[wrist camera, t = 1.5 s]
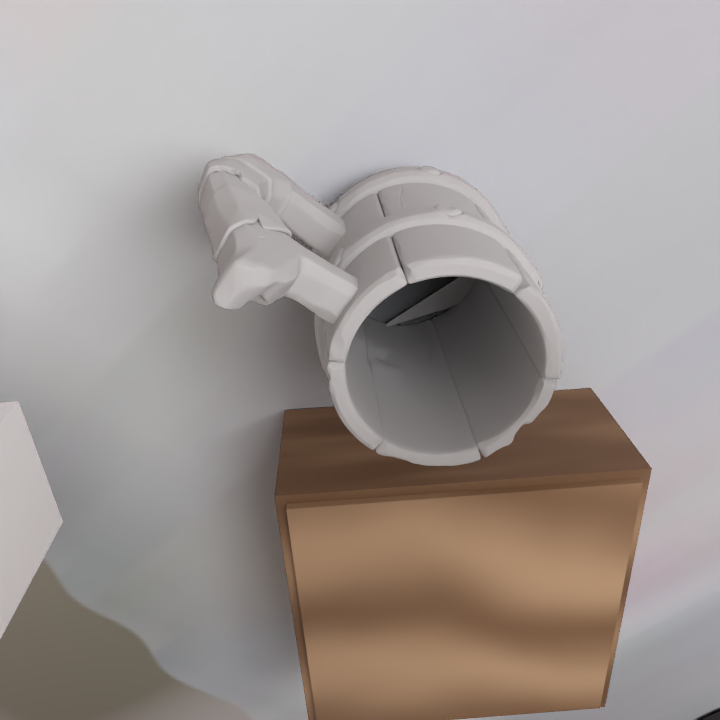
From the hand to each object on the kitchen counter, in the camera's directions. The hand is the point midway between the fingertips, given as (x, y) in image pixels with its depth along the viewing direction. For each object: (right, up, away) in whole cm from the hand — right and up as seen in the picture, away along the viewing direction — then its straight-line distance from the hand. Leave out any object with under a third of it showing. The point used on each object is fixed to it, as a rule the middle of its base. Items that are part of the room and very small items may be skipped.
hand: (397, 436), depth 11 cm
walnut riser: (+3, -7, +20) cm, 22 cm away
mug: (-1, +7, +13) cm, 15 cm away
